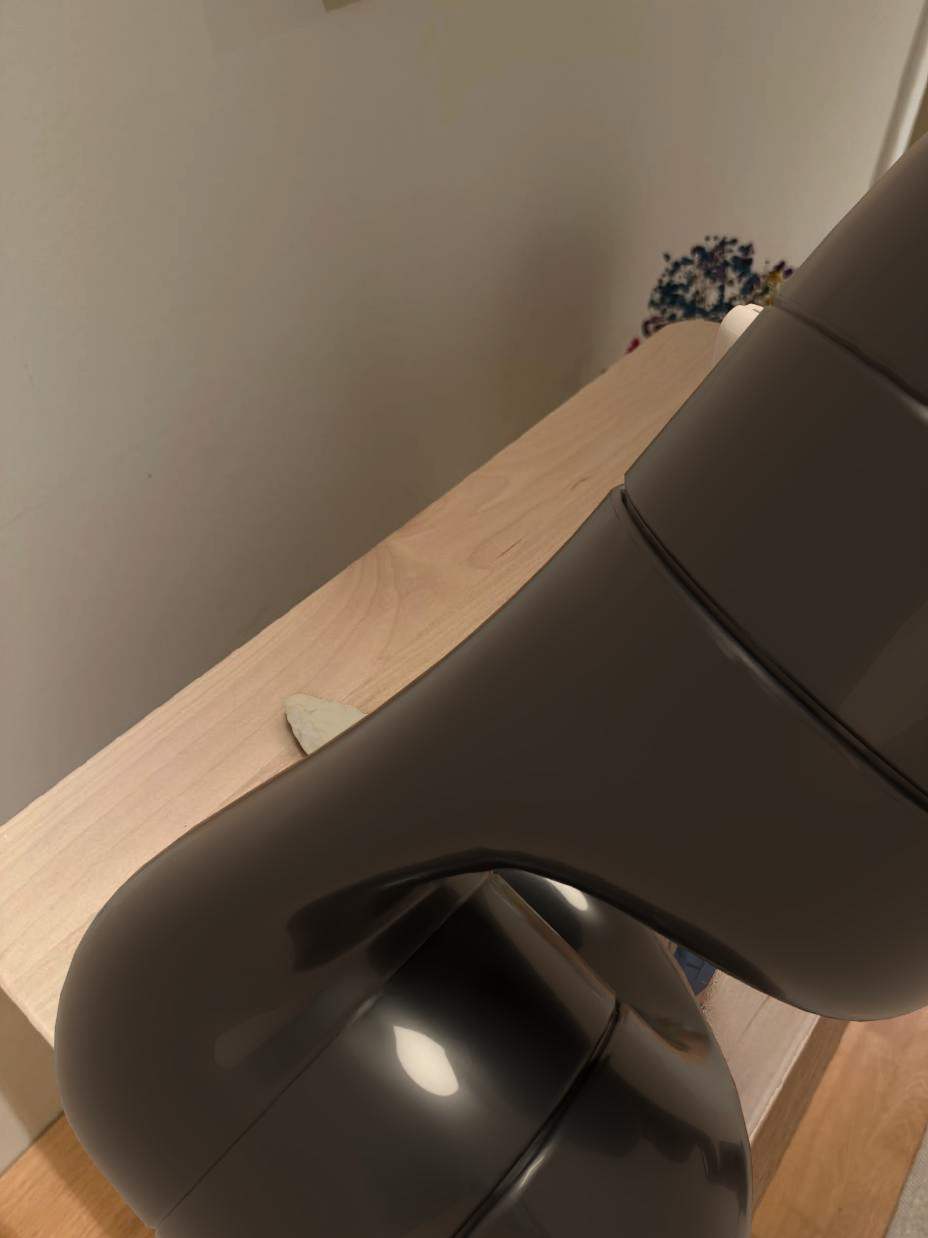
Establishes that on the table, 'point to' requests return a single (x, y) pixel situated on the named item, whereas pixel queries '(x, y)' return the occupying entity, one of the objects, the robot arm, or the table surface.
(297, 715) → the stone tool
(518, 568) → the table surface
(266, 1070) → the robot arm
